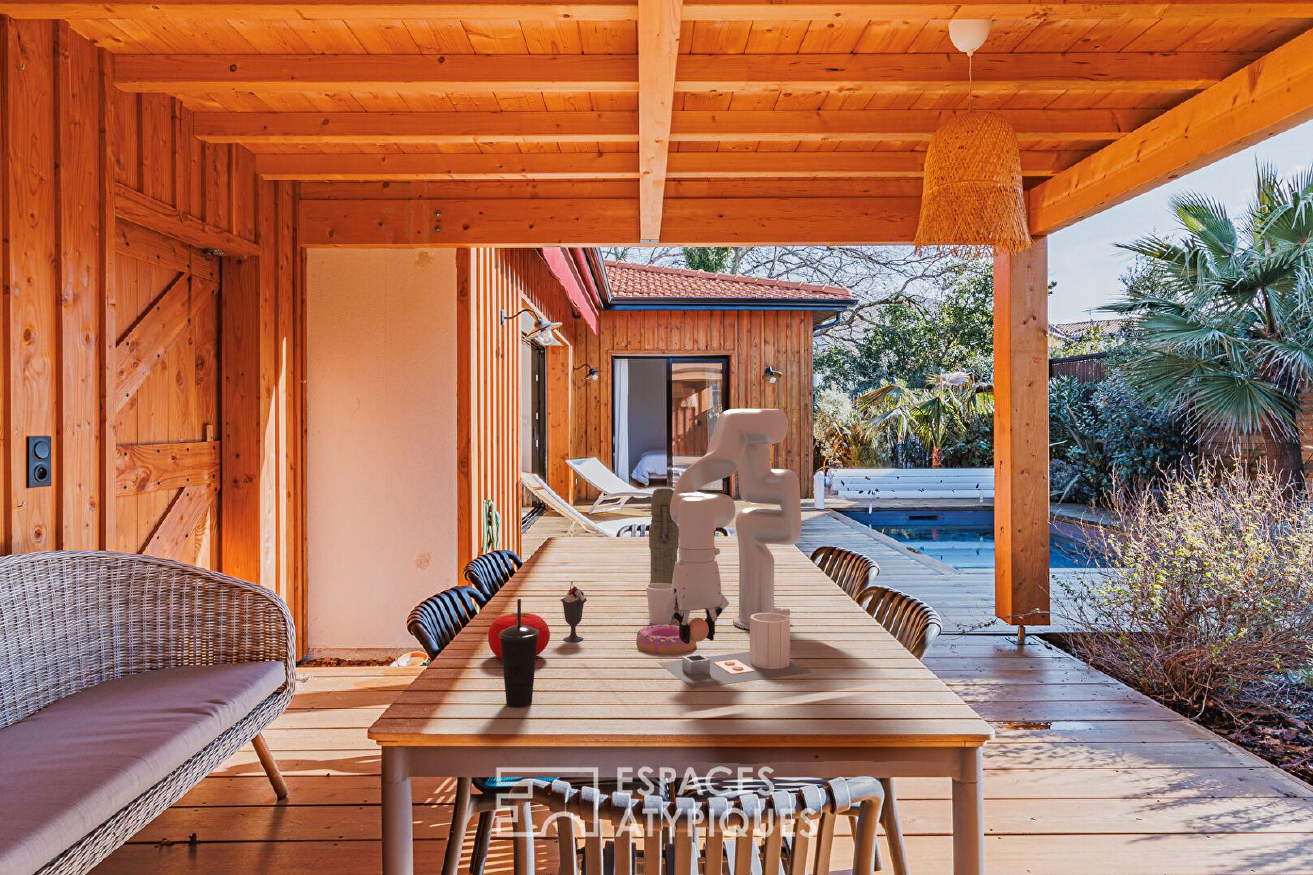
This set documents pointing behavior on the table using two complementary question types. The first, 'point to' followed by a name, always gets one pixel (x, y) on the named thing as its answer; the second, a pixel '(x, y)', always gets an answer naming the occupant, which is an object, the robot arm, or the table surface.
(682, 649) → the donut
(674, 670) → the board
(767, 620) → the tube
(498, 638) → the tomato
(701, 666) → the grey hollow block
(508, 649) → the drinking cup
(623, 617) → the table surface
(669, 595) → the dixie cup
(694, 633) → the ball
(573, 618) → the sundae
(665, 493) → the olive tall column
